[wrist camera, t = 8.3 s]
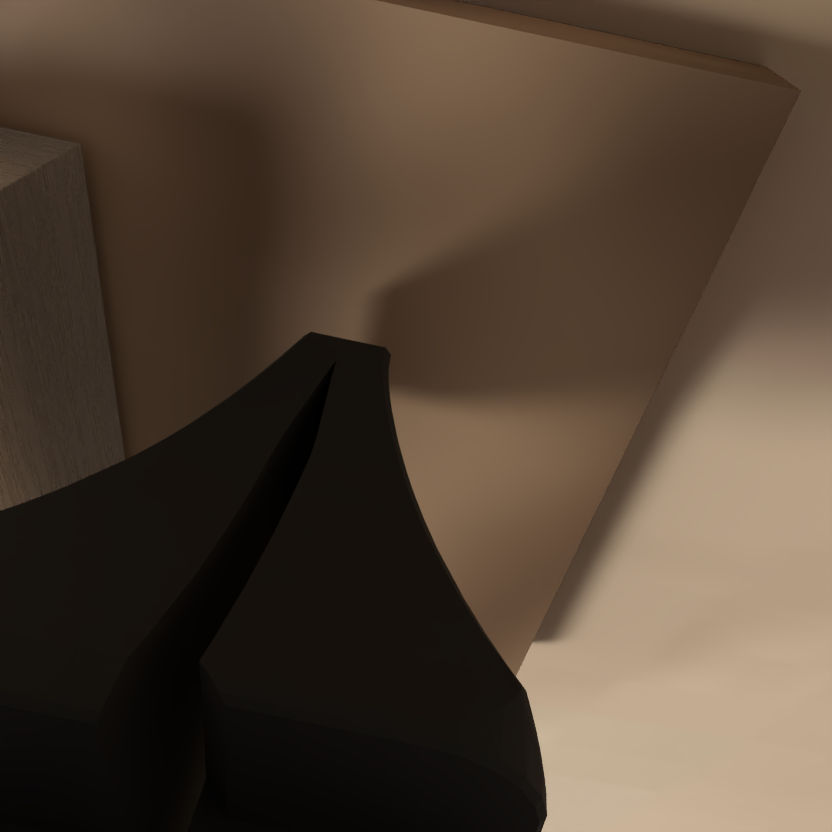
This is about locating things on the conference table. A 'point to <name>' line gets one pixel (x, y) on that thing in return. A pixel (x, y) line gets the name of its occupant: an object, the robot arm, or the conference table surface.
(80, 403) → the folding leg
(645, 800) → the conference table surface
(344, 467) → the robot arm
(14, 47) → the stool seat
